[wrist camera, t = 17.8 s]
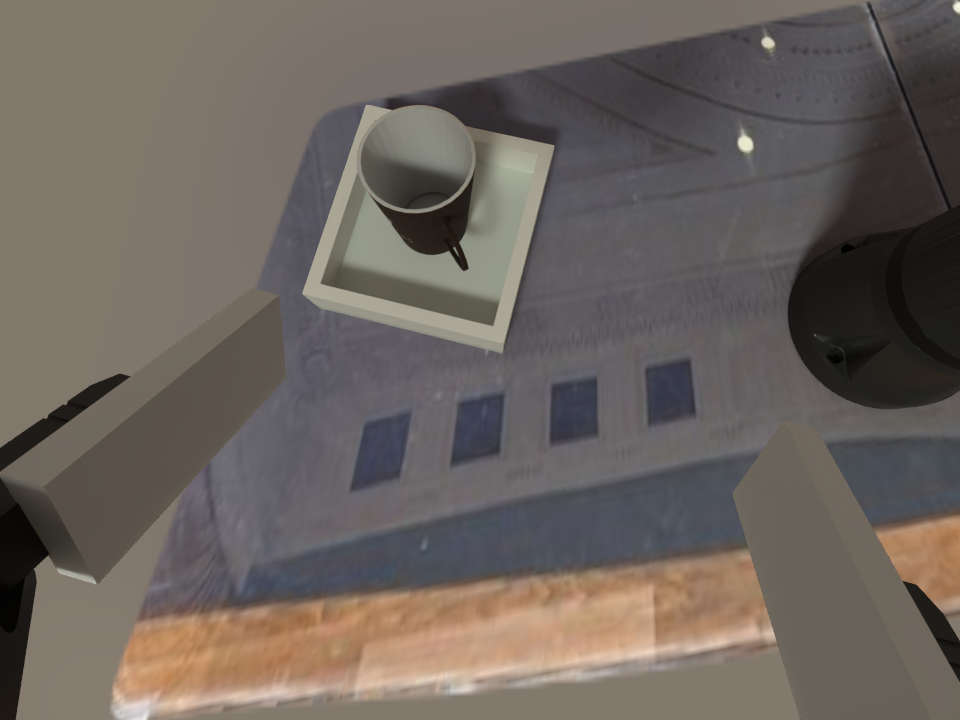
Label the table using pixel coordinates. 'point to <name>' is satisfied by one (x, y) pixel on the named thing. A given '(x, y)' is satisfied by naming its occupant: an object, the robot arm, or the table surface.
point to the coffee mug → (421, 176)
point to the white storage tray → (437, 278)
